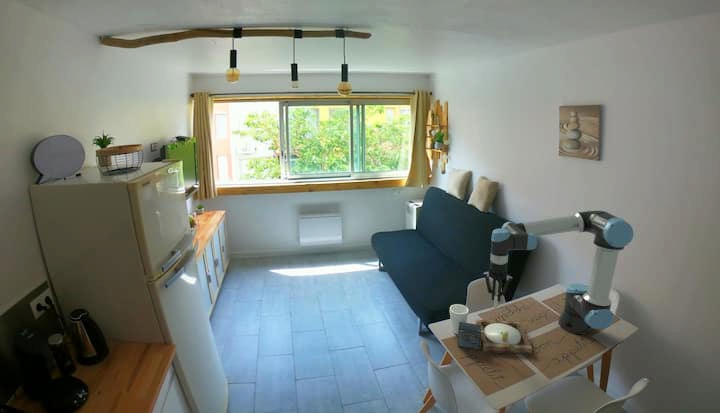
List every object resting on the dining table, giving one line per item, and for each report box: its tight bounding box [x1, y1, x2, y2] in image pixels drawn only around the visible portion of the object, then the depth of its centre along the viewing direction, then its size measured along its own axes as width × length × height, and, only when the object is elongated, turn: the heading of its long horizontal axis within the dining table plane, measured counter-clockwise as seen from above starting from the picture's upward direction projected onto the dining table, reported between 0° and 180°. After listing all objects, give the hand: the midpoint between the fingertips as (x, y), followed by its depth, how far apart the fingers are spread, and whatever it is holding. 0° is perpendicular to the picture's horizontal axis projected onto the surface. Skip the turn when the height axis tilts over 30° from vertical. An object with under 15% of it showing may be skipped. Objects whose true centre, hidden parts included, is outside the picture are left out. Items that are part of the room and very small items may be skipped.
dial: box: [484, 323, 521, 345], centre depth 186 cm, size 17×17×6 cm
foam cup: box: [449, 303, 470, 335], centre depth 193 cm, size 10×9×13 cm
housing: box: [475, 319, 533, 356], centre depth 187 cm, size 22×22×4 cm
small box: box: [457, 322, 481, 351], centre depth 182 cm, size 11×6×10 cm, turn 71°
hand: (495, 306), depth 179 cm, fingers closed
